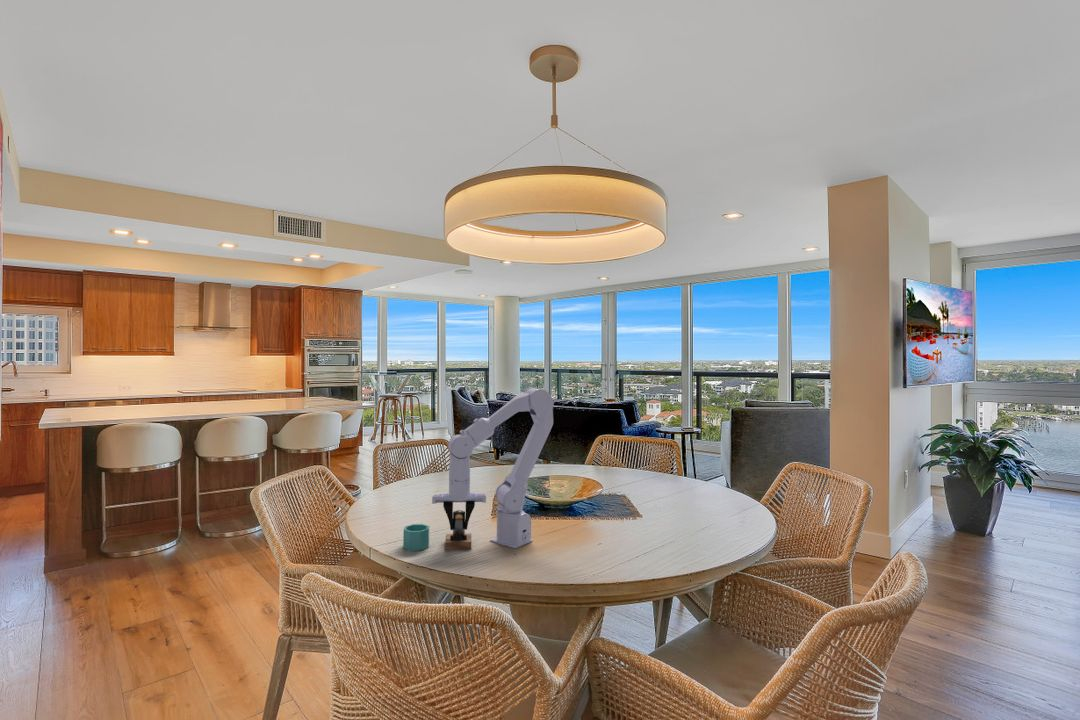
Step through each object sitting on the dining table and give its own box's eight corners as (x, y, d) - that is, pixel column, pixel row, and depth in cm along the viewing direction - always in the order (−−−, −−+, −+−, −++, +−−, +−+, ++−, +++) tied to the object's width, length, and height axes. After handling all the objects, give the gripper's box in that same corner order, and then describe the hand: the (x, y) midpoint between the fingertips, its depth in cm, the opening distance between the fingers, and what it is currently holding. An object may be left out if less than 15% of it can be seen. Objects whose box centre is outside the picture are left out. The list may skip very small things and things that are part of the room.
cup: (433, 545, 146) (434, 527, 146) (414, 552, 141) (414, 533, 141) (418, 540, 150) (418, 522, 150) (398, 546, 145) (399, 528, 145)
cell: (467, 539, 147) (467, 510, 147) (458, 542, 145) (458, 513, 145) (458, 537, 149) (459, 508, 149) (450, 540, 147) (450, 510, 147)
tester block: (471, 540, 151) (471, 532, 151) (471, 549, 144) (471, 541, 144) (446, 541, 150) (446, 533, 150) (444, 549, 143) (445, 541, 143)
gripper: (485, 475, 152) (485, 523, 152) (433, 476, 150) (433, 524, 150) (486, 481, 145) (485, 531, 145) (431, 482, 143) (431, 532, 143)
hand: (458, 528), depth 147 cm, fingers closed on cell, 3 cm apart
